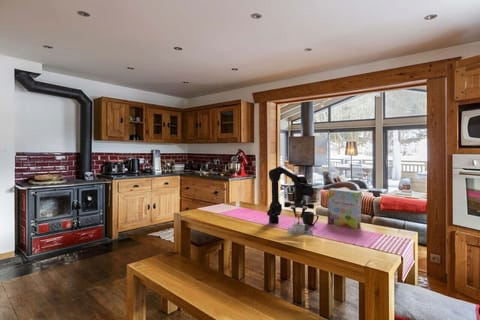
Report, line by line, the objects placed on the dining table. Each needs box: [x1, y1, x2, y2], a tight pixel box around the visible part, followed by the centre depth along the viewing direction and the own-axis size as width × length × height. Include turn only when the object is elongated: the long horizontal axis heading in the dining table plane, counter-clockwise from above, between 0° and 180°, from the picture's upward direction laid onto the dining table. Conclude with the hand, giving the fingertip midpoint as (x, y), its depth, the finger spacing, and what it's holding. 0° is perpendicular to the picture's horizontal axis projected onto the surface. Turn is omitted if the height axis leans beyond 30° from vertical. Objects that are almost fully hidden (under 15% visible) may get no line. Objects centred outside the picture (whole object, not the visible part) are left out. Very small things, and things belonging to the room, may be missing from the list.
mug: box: [302, 210, 320, 227], centre depth 191 cm, size 8×12×10 cm
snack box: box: [327, 187, 363, 230], centre depth 195 cm, size 22×9×26 cm, turn 50°
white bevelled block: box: [291, 221, 309, 233], centre depth 175 cm, size 10×8×5 cm
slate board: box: [286, 227, 314, 237], centre depth 175 cm, size 16×13×1 cm
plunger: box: [296, 212, 302, 224], centre depth 175 cm, size 5×5×8 cm
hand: (298, 218), depth 175 cm, fingers closed on plunger, 3 cm apart
